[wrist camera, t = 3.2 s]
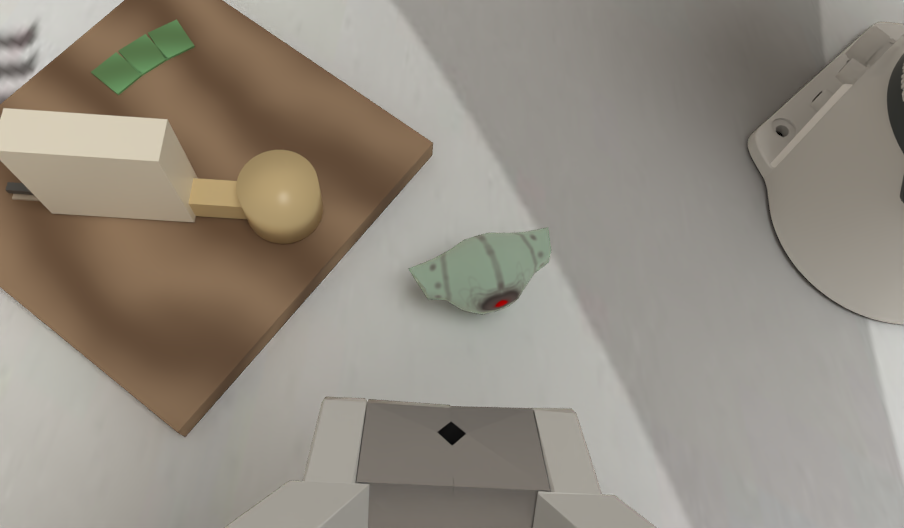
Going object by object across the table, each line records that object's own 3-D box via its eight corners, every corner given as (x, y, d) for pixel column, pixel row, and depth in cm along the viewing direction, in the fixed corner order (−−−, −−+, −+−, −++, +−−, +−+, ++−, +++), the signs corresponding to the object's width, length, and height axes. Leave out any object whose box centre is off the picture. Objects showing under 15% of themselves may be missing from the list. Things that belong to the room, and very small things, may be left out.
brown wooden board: (174, -21, 52) (167, -38, 50) (432, 155, 48) (433, 141, 47) (-94, 208, 45) (-112, 195, 43) (185, 436, 41) (176, 431, 39)
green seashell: (530, 249, 46) (550, 199, 40) (555, 311, 45) (580, 268, 39) (403, 288, 45) (404, 241, 38) (425, 352, 43) (430, 315, 37)
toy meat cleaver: (326, 178, 45) (314, 112, 39) (319, 246, 44) (304, 189, 37) (22, 158, 44) (-43, 87, 38) (2, 226, 43) (-69, 165, 36)
